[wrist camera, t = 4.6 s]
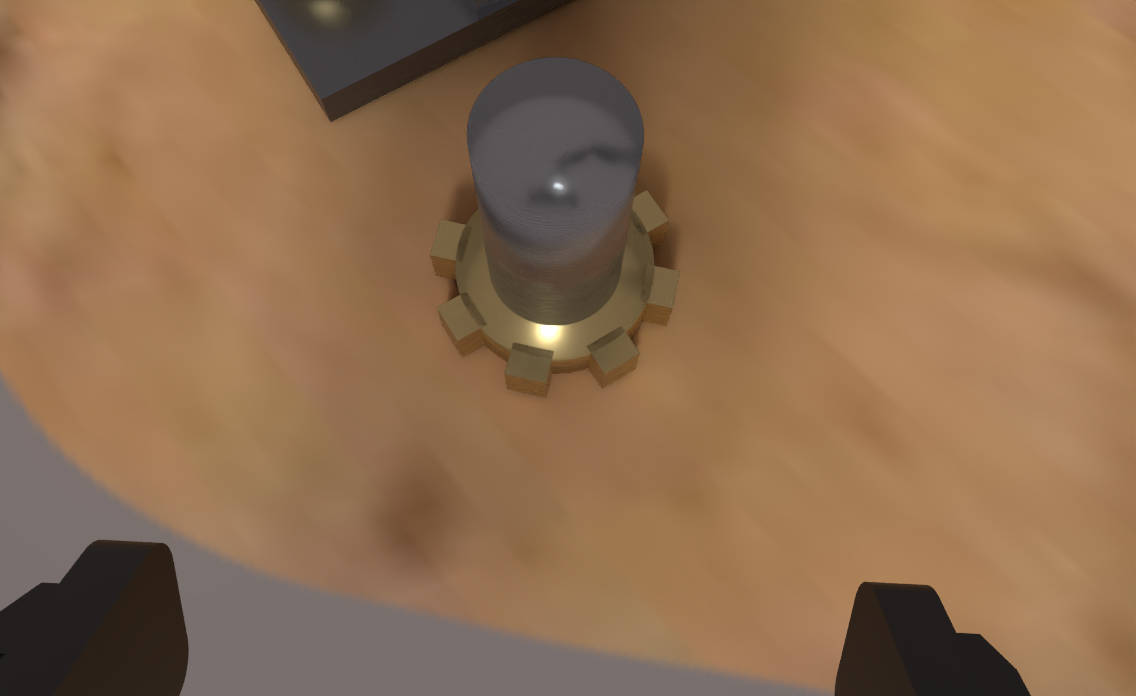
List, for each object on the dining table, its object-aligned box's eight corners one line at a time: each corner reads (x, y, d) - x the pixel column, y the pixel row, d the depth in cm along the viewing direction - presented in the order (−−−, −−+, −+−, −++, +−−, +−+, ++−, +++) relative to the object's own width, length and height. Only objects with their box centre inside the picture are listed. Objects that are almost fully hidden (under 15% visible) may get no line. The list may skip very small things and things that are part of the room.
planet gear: (590, 141, 28) (604, -52, 20) (718, 318, 26) (785, 180, 19) (394, 247, 27) (332, 85, 19) (514, 441, 25) (497, 347, 17)
